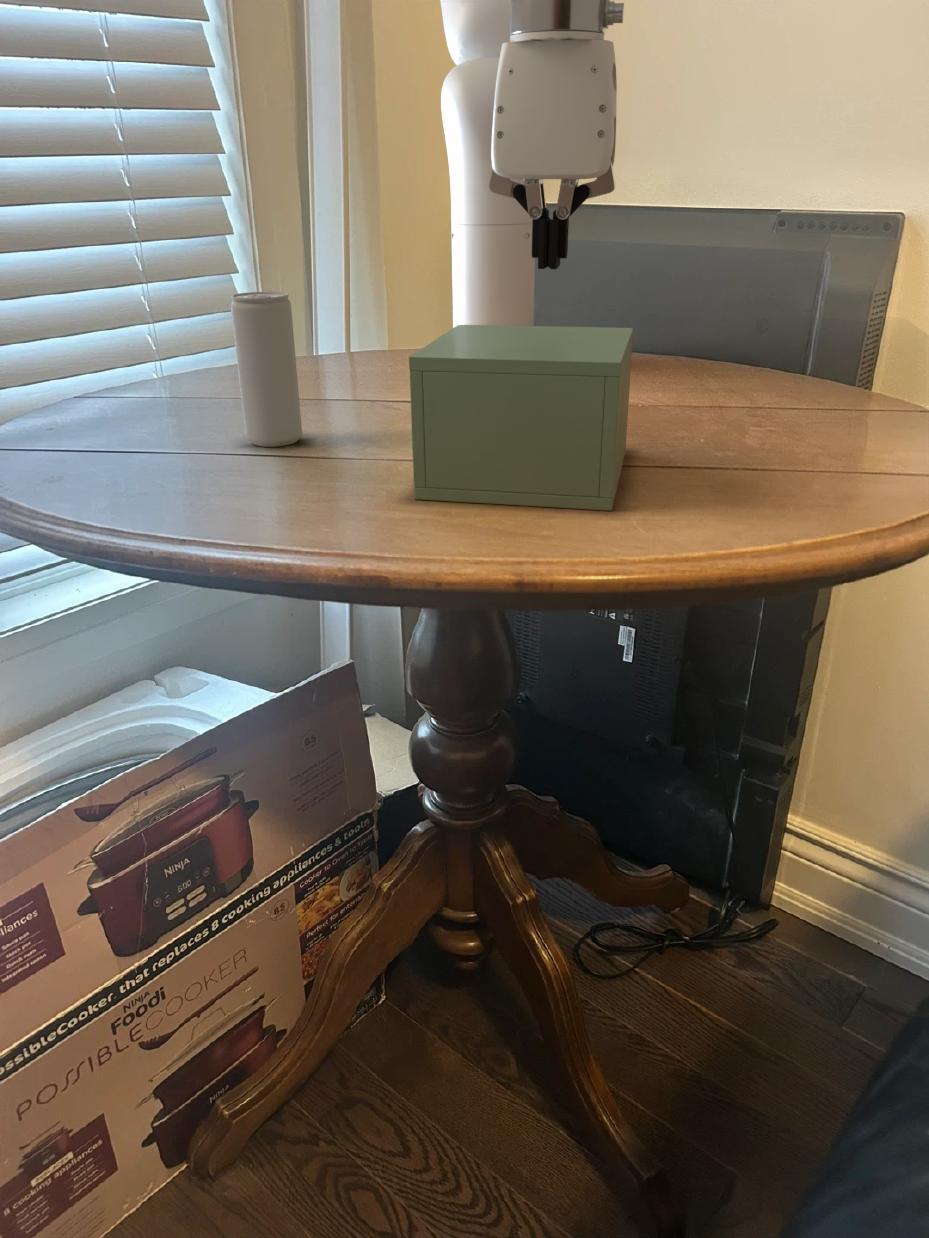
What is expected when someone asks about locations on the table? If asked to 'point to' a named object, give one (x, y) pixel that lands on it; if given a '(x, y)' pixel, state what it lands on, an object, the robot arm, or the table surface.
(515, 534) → the table surface
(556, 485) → the cabinet
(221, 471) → the table surface
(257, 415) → the beverage can
